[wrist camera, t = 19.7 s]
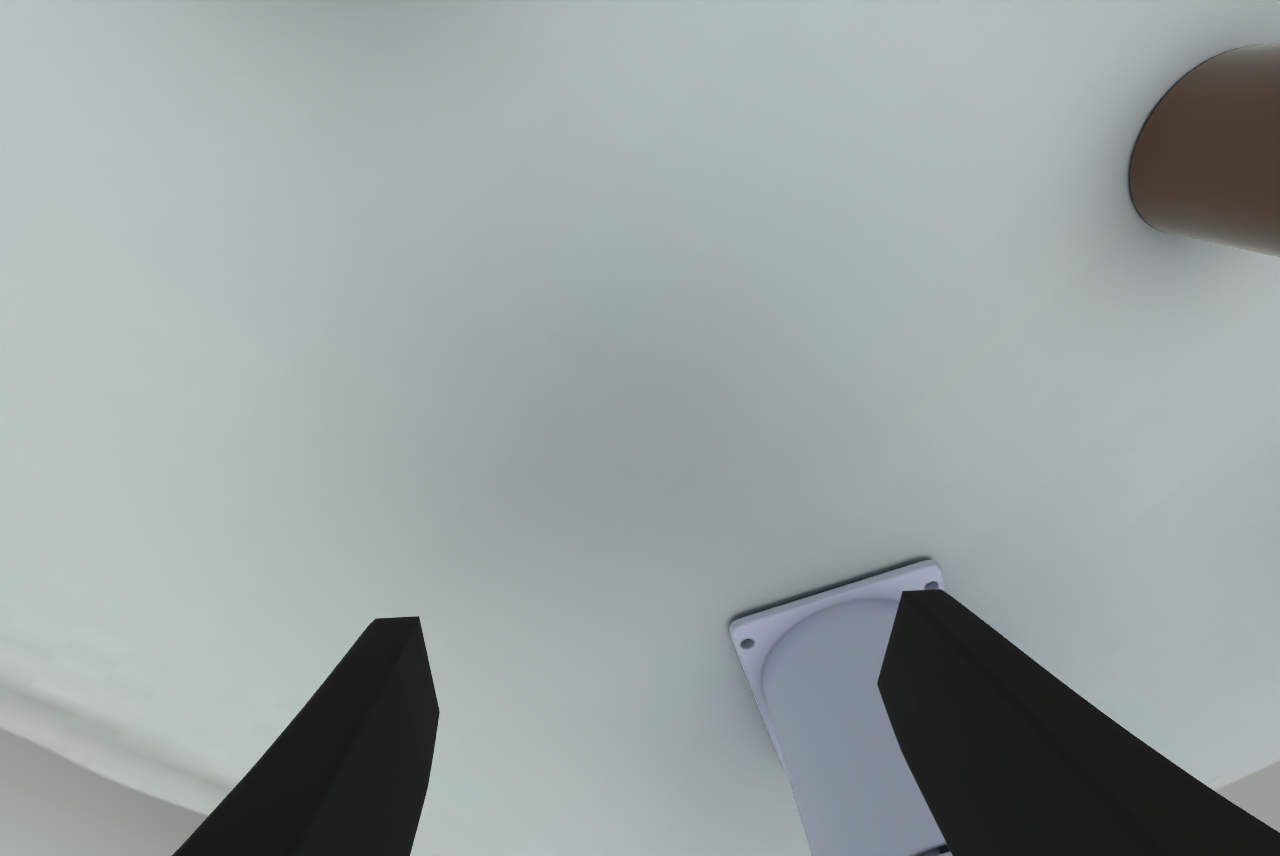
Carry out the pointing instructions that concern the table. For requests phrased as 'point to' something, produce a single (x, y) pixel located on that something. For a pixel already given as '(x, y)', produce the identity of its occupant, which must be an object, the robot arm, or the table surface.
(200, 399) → the table surface
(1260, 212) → the jar
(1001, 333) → the table surface
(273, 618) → the table surface
